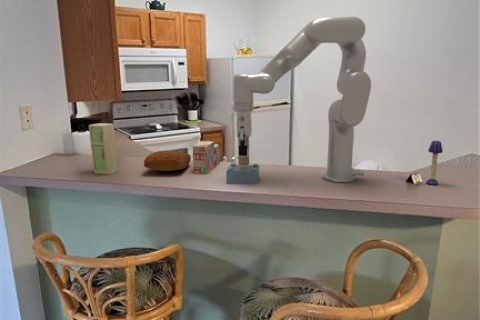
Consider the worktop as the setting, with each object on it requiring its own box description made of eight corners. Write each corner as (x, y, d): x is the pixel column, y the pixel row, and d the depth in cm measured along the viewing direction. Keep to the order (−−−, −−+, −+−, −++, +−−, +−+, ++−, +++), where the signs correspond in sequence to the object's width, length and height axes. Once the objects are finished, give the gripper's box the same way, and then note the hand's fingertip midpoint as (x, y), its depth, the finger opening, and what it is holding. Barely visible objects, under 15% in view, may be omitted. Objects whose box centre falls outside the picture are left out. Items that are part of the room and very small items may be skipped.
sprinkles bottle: (251, 164, 138) (251, 130, 135) (242, 166, 135) (242, 131, 132) (244, 162, 141) (244, 129, 138) (235, 164, 139) (235, 130, 136)
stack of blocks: (207, 162, 170) (207, 137, 168) (220, 163, 169) (219, 137, 166) (193, 173, 150) (192, 145, 147) (207, 174, 149) (206, 146, 146)
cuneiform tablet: (180, 177, 144) (179, 158, 142) (140, 176, 146) (139, 157, 144) (193, 165, 165) (193, 148, 163) (159, 164, 167) (158, 147, 165)
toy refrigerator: (92, 173, 150) (87, 124, 145) (104, 169, 157) (100, 122, 152) (106, 175, 147) (102, 125, 143) (118, 171, 154) (114, 123, 149)
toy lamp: (437, 186, 130) (443, 142, 127) (423, 184, 133) (429, 141, 129) (438, 183, 134) (444, 140, 131) (425, 181, 137) (430, 139, 133)
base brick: (259, 177, 144) (259, 163, 142) (257, 184, 134) (257, 169, 133) (230, 176, 145) (230, 162, 144) (226, 183, 136) (226, 168, 134)
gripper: (251, 109, 125) (251, 159, 129) (255, 105, 141) (255, 150, 145) (230, 109, 125) (231, 158, 130) (236, 105, 142) (237, 149, 146)
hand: (243, 153), depth 137 cm, fingers closed on sprinkles bottle, 4 cm apart
